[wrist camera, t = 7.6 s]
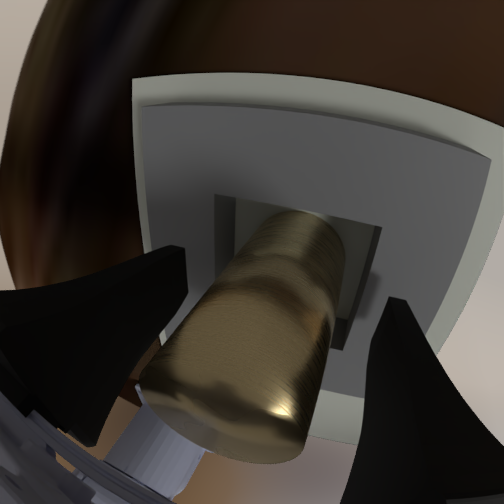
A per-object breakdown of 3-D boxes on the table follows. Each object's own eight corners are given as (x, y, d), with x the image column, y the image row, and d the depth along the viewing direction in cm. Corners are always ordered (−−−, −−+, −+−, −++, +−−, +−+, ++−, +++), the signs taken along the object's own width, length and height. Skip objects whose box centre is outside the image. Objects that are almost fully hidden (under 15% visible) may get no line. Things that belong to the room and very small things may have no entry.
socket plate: (367, 438, 19) (362, 468, 17) (177, 383, 23) (160, 407, 21) (513, 133, 8) (548, 146, 5) (143, 78, 12) (100, 81, 9)
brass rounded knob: (334, 305, 13) (288, 475, 6) (249, 284, 14) (156, 427, 7) (354, 221, 11) (325, 404, 4) (254, 202, 12) (121, 335, 5)
